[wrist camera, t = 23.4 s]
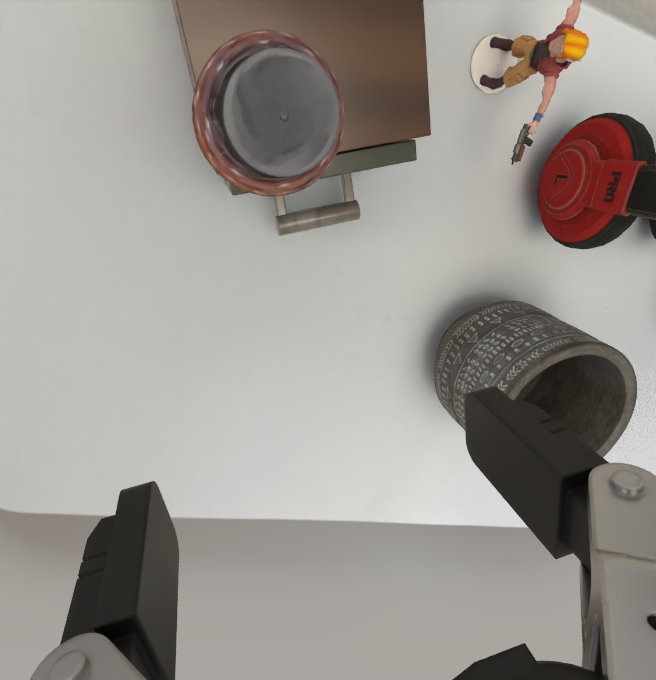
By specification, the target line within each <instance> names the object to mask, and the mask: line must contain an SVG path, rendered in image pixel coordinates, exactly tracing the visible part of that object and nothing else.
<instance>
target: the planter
mask: <svg viewBox="0 0 656 680" xmlns="http://www.w3.org/2000/svg"><path fill="white" fill-rule="evenodd" d="M491 386H496V387H497V388H499V389H500V390H501V391H502V392H504V393H505V394H506V395H507V396H508V397H510V398H511V399H512V400H515V399H521V400H524V401H526V402H529V403H531V404H533V405H536V406H538V407H540V408H541V409H542V410H543V411H545V412H546V413H547V414H548V415H550V416H551V417H552V418H553V420H556V421H557V422H558V423H560V424H561V425H562V426H563V427H564V428H565V430H568V431H570V432H571V433H572V434H573V435H575V436H576V437H577V438H578V439H580V440H581V441H582V442H583V443H585V444H586V445H587V446H588V447H590V448H591V449H592V450H594V451H595V452H596V453H597V454H599V455H600V456H601V457H602V458H603V457H604V456H605V455H606V454H607V453H608V452H609V451H610V450H611V448H612V447H613V446H614V445H615V443H616V442H617V441H618V439H619V438H620V437H621V435H622V434H623V432H624V430H625V429H626V427H627V425H628V423H629V421H630V419H631V416H632V414H633V411H634V407H635V403H636V397H637V381H636V376H635V372H634V369H633V367H632V365H631V363H630V362H629V360H628V359H627V358H626V357H625V356H624V355H623V354H622V353H621V352H620V351H618V350H617V349H615V348H613V347H611V346H609V345H607V344H605V343H603V342H601V341H599V340H598V339H596V338H594V337H592V336H591V335H589V334H587V333H585V332H583V331H581V330H579V329H577V328H575V327H573V326H571V325H569V324H567V323H565V322H563V321H561V320H559V319H557V318H555V317H554V316H552V315H550V314H548V313H547V312H545V311H543V310H541V309H539V308H536V307H534V306H532V305H530V304H527V303H523V302H518V301H505V302H499V303H494V304H490V305H487V306H483V307H481V308H478V309H476V310H473V311H471V312H469V313H467V314H466V315H464V316H462V317H460V318H459V319H458V320H456V321H455V322H454V323H453V324H452V325H451V326H450V327H449V329H448V330H447V331H446V333H445V334H444V336H443V338H442V340H441V342H440V345H439V348H438V352H437V356H436V362H435V388H436V392H437V395H438V398H439V400H440V402H441V404H442V405H443V407H444V408H445V409H446V410H447V411H448V413H449V414H450V415H451V416H452V417H453V419H454V420H455V421H456V422H457V423H458V424H459V425H460V426H461V427H462V428H463V429H464V430H465V405H464V399H465V395H466V394H467V393H470V392H473V391H477V390H480V389H484V388H487V387H491Z"/></svg>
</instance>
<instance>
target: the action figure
mask: <svg viewBox="0 0 656 680" xmlns="http://www.w3.org/2000/svg"><path fill="white" fill-rule="evenodd" d="M580 4H581V0H574V1H573V4H572V5H571V6H570V7H569V8H568V10H567V14H566V18H565V20H564V21H563V22H562V23H561V24H560V25H559V26H557V28H556V30H555V31H554V32H553V33H552V34H549V35H548V36H547V38H546V40H540V41H537V40H536V39H535V38H534V37H532V36H531V37H530V36H528V35H527V36H525V35H522V36H520V37H518V38H517V39H515V40H514V41H512V40H511V39H509V38H508V37H507V36H505V35H502V34H492V35H489V36H487V37H486V38H484V39H483V40H482V41H481V42H480V43H479V44H478V46H477V47H476V49H475V51H474V53H473V56H472V61H471V74H472V78H473V80H474V82H475V84H476V85H477V87H478V88H479V89H480V90H482V91H484V92H486V93H497V92H500V91H502V90H503V89H505V88H507V87H511V86H513V85H516V84H519V83H520V82H522V81H524V80H526V79H527V78H528V77H529V76H530V75H532V74H536V73H537V71H539V73H541V74H543V75H544V81H545V85H544V88H543V90H542V96H543V101H542V103H541V104H540V106H539V108H538V111H537V113H536V114H535V117H534V118H533V122H532V123H530V124H524V126H523V129H522V130H521V132H520V135H519V138H518V141H517V144H515V147H514V150H513V152H514V154H513V157H512V158H511V159H512V165H513V163H514V161H515V162H517V161H521V158H522V155H523V152H524V149H525V146H524V145H523V144H526V145H528V146H531V145H532V143H533V141H532V140H531V139H530V138H528V137H527V136H528V135H529V132H530V134H531V135H533V133H534V134H535V131H536V128H537V126H538V122H540V120H541V118H542V117H543V114H544V112H545V111H546V109H547V107H548V104H549V101H550V99H551V97H552V95H553V93H554V90H555V86H556V79H557V78H558V77H559V73H560V72H561V71H562V70H563V69H567V68H568V67H569V65H570V64H571V63H572V62H573V61H577V60H578V61H581V59H582V57H583V56H584V55H585V53H586V49H587V48H588V47H589V40H588V37H587V35H586V34H585V33H582V32H581V31H579V30H576V29H574V26H573V25H574V23H575V22H576V20H577V17H578V14H579V10H580ZM522 57H524V59H523V60H522V61H521V62H519V63H518V58H522ZM528 130H529V131H528ZM526 134H527V135H526Z"/></svg>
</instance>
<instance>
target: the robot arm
mask: <svg viewBox="0 0 656 680" xmlns="http://www.w3.org/2000/svg"><path fill="white" fill-rule="evenodd" d="M464 405H465V431H466V445H467V449H468V452H469V454H470V456H471V458H472V460H473V462H474V463H475V465H476V466H477V467H478V468H479V469H480V471H481V472H482V473H483V474H484V475H485V477H486V478H487V479H488V480H489V481H490V482H491V484H492V485H493V486H494V487H495V488H496V489H497V491H498V492H499V493H500V494H501V495H502V497H503V498H504V499H505V500H506V501H507V502H508V504H509V505H510V506H511V507H512V508H513V510H514V511H515V512H516V513H517V514H518V515H519V517H520V518H521V519H522V520H523V521H524V523H525V524H526V525H527V526H528V527H529V528H530V529H531V531H532V532H533V533H534V534H535V535H536V537H537V538H538V539H539V540H540V541H541V543H542V544H543V545H544V546H545V547H546V548H547V550H548V551H549V552H550V553H551V554H552V555H553V557H554V558H555V559H558V558H561V557H563V556H566V555H569V554H572V553H574V554H575V555H576V556H577V557H578V558H579V560H580V594H581V619H582V642H583V658H582V667H579V666H576V665H573V664H568V663H562V662H555V661H536V660H535V658H534V657H533V655H532V654H531V652H530V651H529V649H528V648H527V646H526V644H525V643H524V644H521V645H519V646H516V647H513V648H511V649H508V650H506V651H503V652H500V653H498V654H495V655H493V656H490V657H488V658H485V659H482V660H479V661H477V662H474V663H473V664H472V665H471V666H469V667H468V668H467V669H466V670H464V671H463V672H462V673H461V674H459V675H458V676H457V677H455V678H454V679H453V680H656V476H655V475H653V474H652V473H650V472H649V471H646V470H644V469H642V468H640V467H637V466H633V465H630V464H624V463H609V462H607V461H606V460H605V459H604V458H602V457H601V456H600V455H599V454H597V453H596V452H595V451H594V450H592V449H591V448H590V447H588V446H587V445H586V444H585V443H583V442H582V441H581V440H580V439H578V438H577V437H576V436H575V435H573V434H572V433H571V432H570V431H568V430H565V428H564V427H563V426H562V425H561V424H560V423H558V422H557V421H556V420H553V418H552V417H551V416H550V415H548V414H547V413H546V412H545V411H543V410H542V409H541V408H540V407H538V406H536V405H533V404H531V403H529V402H526V401H524V400H521V399H515V400H512V399H511V398H510V397H508V396H507V395H506V394H505V393H504V392H502V391H501V390H500V389H499V388H497V387H496V386H491V387H487V388H484V389H480V390H477V391H473V392H470V393H467V394H466V395H465V399H464ZM178 567H179V547H178V540H177V536H176V532H175V528H174V526H173V523H172V521H171V518H170V515H169V513H168V510H167V508H166V505H165V503H164V500H163V498H162V495H161V493H160V490H159V488H158V485H157V484H156V482H155V481H152V482H149V483H145V484H142V485H138V486H135V487H131V488H127V489H124V490H122V491H121V492H120V495H119V500H118V505H117V510H116V515H113V516H110V517H106V518H103V519H101V520H100V522H99V523H98V525H97V526H96V527H95V529H94V530H93V532H92V533H91V535H90V536H89V537H88V539H87V543H86V547H85V551H84V555H83V562H82V563H81V566H80V570H79V574H78V576H79V579H77V582H76V586H75V589H74V593H73V597H72V601H71V605H70V609H69V613H68V617H67V621H66V625H65V628H64V632H63V636H62V640H61V643H60V645H59V646H58V647H57V648H55V649H54V650H53V651H52V652H51V653H50V654H49V655H48V656H46V658H45V659H44V660H43V661H42V662H41V663H40V665H39V666H38V667H37V669H36V670H35V672H34V673H33V675H32V677H31V679H30V680H175V662H176V632H177V601H178V599H177V598H178V569H179V568H178Z"/></svg>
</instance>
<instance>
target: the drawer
mask: <svg viewBox="0 0 656 680" xmlns="http://www.w3.org/2000/svg"><path fill="white" fill-rule="evenodd" d="M416 159H417V158H416V144H415V140H411V139H407V140H402V141H397V142H391V143H386V144H380V145H375V146H370V147H364V148H359V149H354V150H348V151H343V152H337V154H336V156H335V158H334V160H333V162H332V163H331V165H330V166H329V168H328V169H327V170H326V171H325V173H324V174H323V175H322V176H321V177H320V178H319V179H321V178H326V177H332V176H337V175H341V178H342V186H343V193H344V200H345V201H346V202H341V203H336V204H331V205H327V206H322V207H317V208H312V209H307V210H302V211H297V212H292V213H286V207H285V202H284V197H283V196H275V197H274V200H275V205H276V210H277V214H278V216H275V223H276V228H277V231H278V234H279V236H281V235H286V234H291V233H295V232H300V231H305V230H309V229H314V228H319V227H324V226H328V225H333V224H338V223H343V222H347V221H352V220H357V219H359V218H360V208H359V205H358V202H357V201H356V200H354V194H353V186H352V178H351V173H352V172H357V171H362V170H368V169H373V168H378V167H383V166H388V165H393V164H399V163H404V162H409V161H414V160H416ZM224 180H225V179H224ZM225 184H226V185H227V187H228V188H229V190H230V192H231V193H232V195H239V194H244V193H249V192H247V191H245V190H242V189H240V188H238V187H236V186H234V185H232V184H231V183H229V182H228V181H226V180H225Z"/></svg>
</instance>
